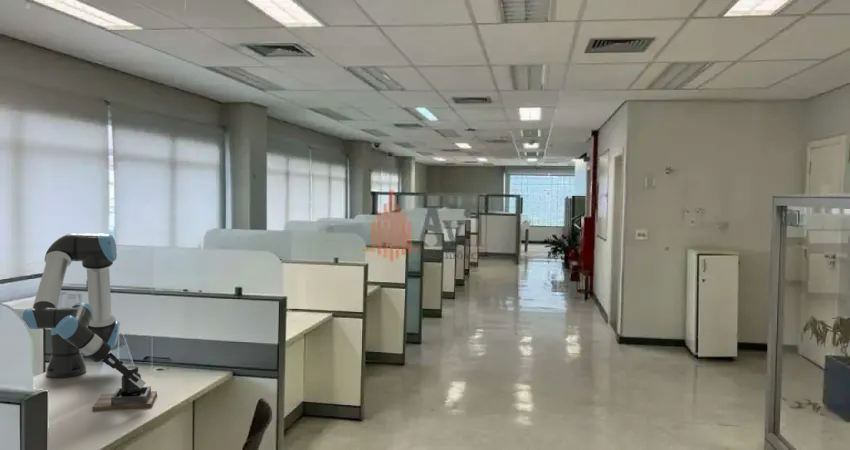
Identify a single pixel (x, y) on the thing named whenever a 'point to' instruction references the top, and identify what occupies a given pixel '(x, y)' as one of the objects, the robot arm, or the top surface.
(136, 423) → the top surface
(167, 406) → the top surface
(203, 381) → the top surface
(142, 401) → the base board
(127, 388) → the supplement bottle
